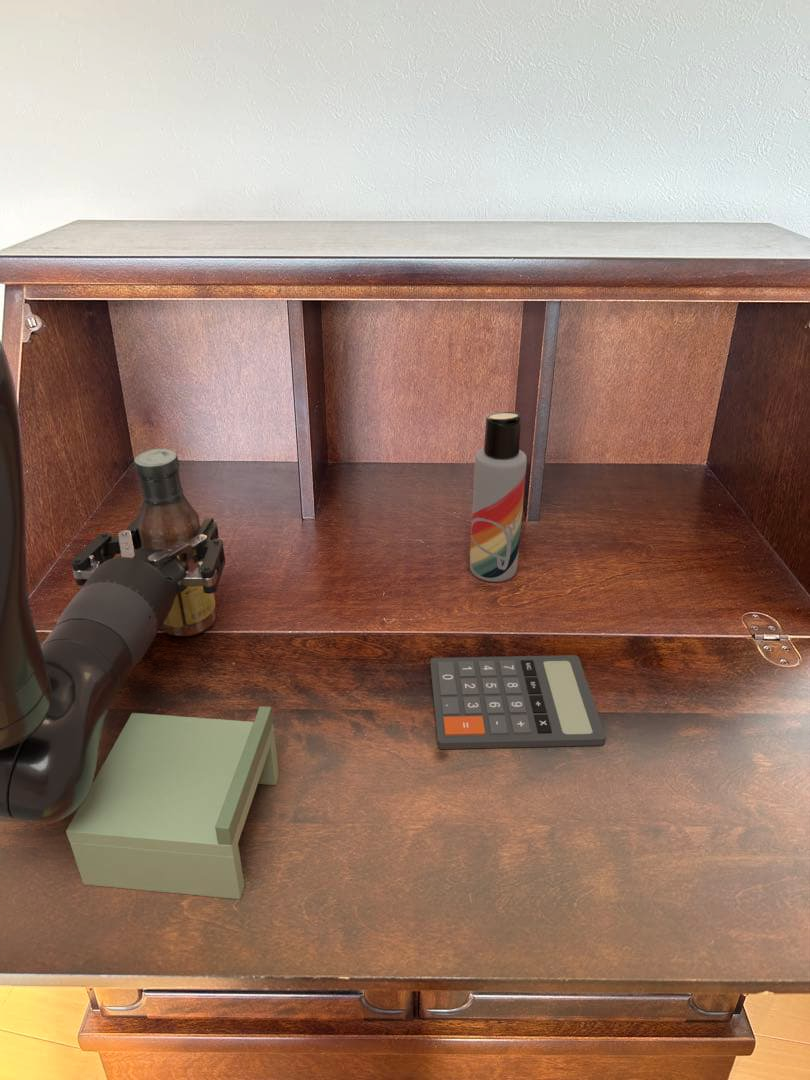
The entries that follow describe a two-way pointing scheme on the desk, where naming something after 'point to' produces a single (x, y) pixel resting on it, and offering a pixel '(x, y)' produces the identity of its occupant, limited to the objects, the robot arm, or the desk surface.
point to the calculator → (513, 702)
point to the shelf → (174, 804)
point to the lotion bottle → (498, 499)
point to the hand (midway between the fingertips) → (179, 523)
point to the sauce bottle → (171, 535)
